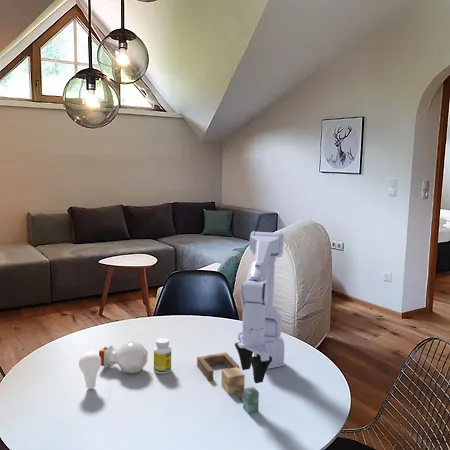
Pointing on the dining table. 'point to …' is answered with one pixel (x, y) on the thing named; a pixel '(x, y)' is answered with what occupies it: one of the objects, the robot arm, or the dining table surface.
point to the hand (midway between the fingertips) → (252, 375)
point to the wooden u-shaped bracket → (214, 363)
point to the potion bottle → (125, 357)
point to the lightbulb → (90, 367)
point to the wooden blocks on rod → (240, 389)
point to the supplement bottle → (162, 356)
